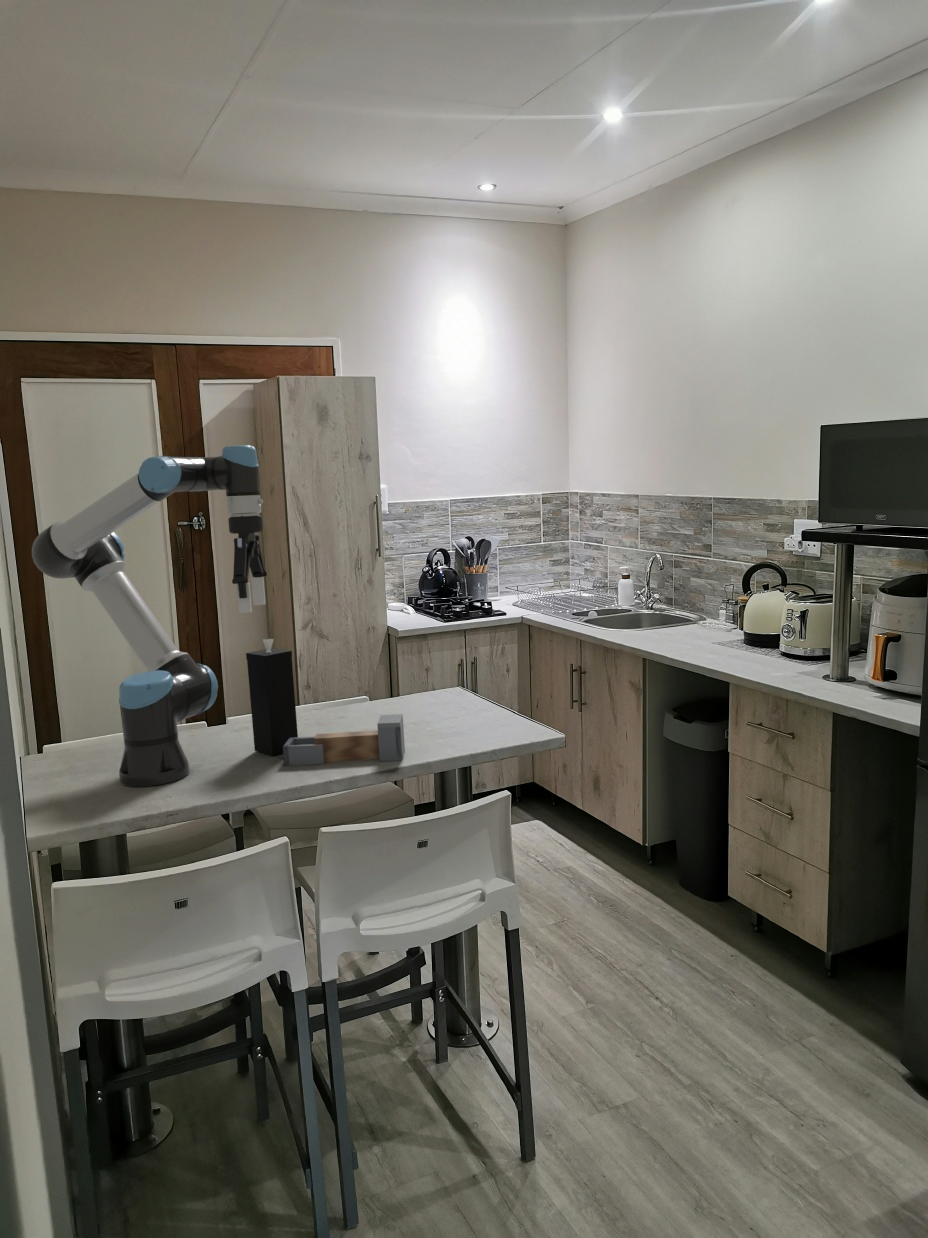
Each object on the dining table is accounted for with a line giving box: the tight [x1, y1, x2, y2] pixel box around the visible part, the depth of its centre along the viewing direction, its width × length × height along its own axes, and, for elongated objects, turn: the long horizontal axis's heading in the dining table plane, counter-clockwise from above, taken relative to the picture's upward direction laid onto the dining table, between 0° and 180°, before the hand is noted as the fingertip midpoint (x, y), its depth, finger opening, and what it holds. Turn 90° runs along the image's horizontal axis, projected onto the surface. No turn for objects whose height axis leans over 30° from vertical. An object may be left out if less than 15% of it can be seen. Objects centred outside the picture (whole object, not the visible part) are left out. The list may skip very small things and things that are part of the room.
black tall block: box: [245, 638, 299, 757], centre depth 225 cm, size 8×8×28 cm
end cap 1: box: [282, 736, 326, 767], centre depth 217 cm, size 9×8×4 cm
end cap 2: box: [376, 713, 406, 762], centre depth 216 cm, size 5×8×9 cm, turn 179°
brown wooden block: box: [314, 729, 380, 763], centre depth 217 cm, size 18×4×6 cm, turn 93°
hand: (252, 608), depth 210 cm, fingers open, 13 cm apart
